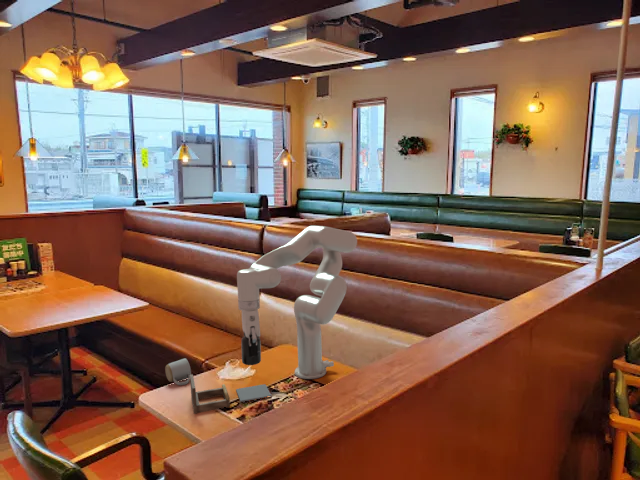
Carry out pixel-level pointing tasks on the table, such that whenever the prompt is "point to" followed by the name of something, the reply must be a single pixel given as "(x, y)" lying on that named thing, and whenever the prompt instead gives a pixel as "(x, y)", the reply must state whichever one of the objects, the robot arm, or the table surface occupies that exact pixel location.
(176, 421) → the table surface
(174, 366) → the ceramic mug
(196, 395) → the dispenser stand
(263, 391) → the rubber pad
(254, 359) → the supplement bottle
